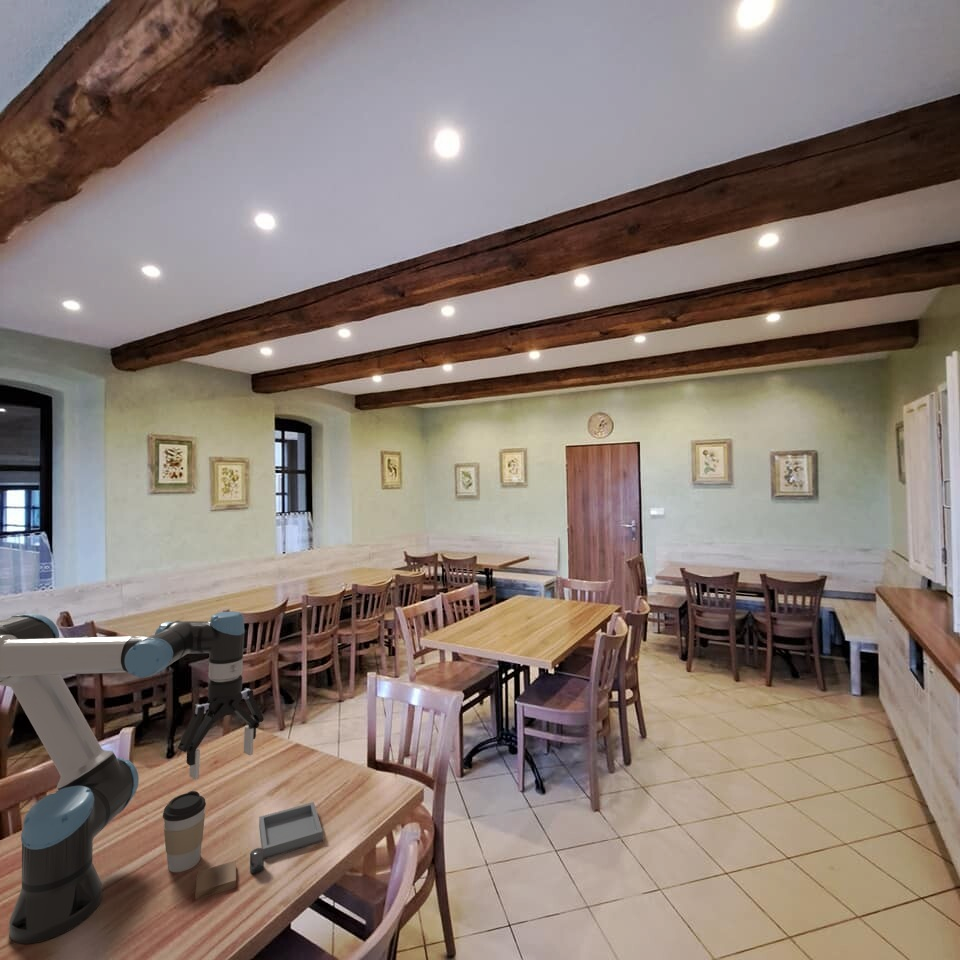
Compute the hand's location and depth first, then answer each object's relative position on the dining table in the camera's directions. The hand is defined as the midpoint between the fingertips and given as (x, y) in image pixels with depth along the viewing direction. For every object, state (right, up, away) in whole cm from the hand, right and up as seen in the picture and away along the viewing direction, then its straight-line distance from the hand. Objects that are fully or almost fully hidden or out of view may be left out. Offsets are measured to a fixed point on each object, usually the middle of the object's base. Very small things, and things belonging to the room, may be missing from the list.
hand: (222, 764), depth 124 cm
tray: (+13, -23, +9) cm, 28 cm away
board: (+3, -23, -8) cm, 24 cm away
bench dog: (+10, -22, -4) cm, 25 cm away
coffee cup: (-8, -23, -1) cm, 24 cm away
